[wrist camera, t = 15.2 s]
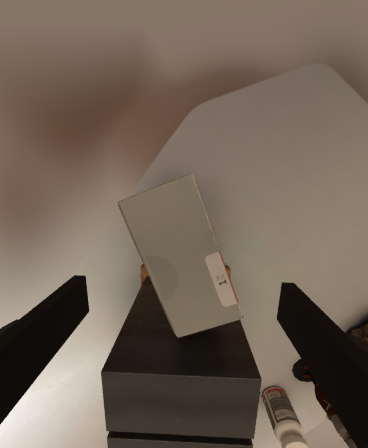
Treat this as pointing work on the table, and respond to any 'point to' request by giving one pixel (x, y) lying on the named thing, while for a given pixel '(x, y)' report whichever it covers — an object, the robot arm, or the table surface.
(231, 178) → the table surface
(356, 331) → the mineral specimen
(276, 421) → the pill bottle
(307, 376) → the figurine
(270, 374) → the table surface
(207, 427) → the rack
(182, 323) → the hard drive box
